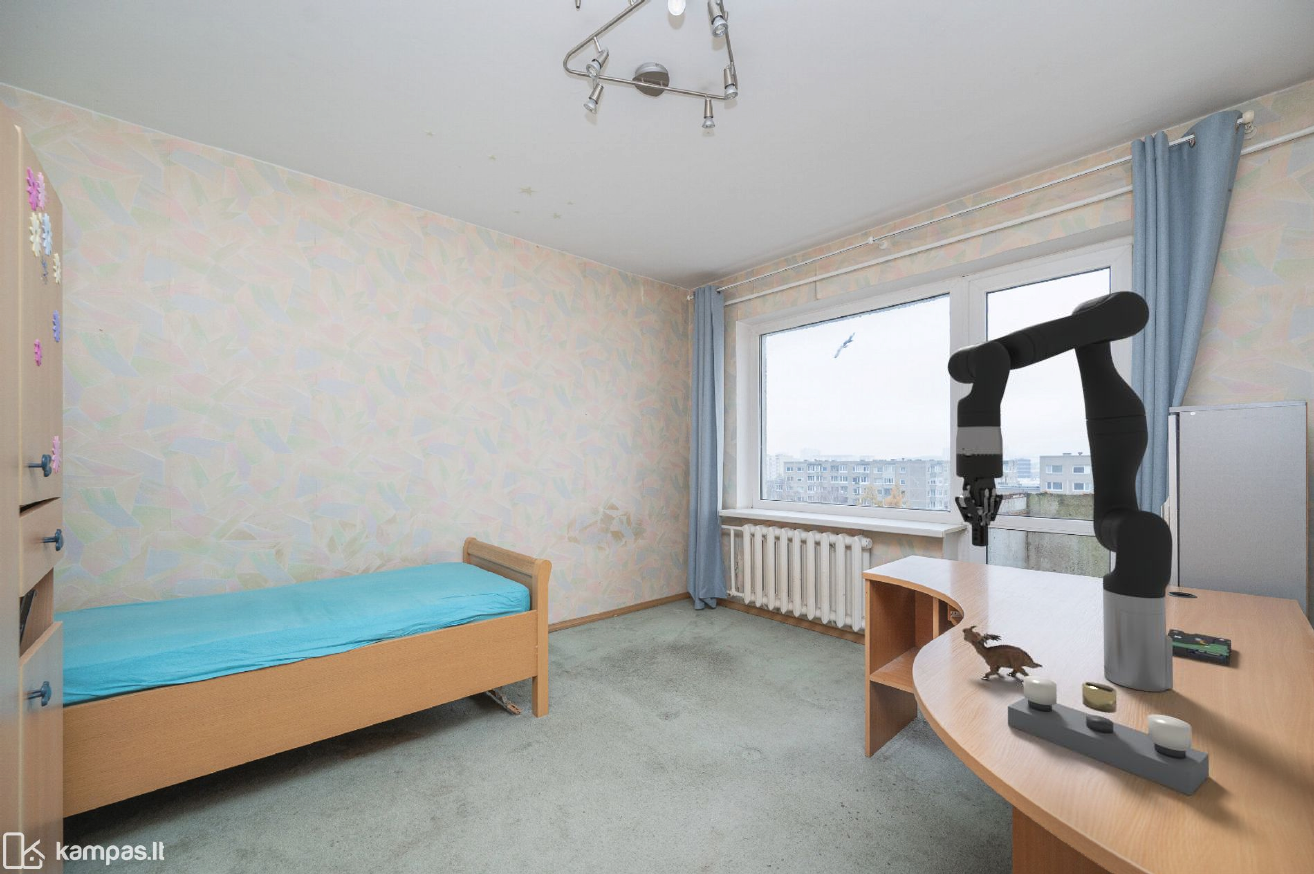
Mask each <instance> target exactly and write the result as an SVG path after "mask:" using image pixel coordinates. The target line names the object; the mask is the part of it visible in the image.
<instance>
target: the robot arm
mask: <svg viewBox="0 0 1314 874" xmlns="http://www.w3.org/2000/svg"><path fill="white" fill-rule="evenodd" d="M1149 320H1150V308H1149V305H1148V303H1147V301H1146V300H1145V299H1144V297H1143V296H1142V295H1140V294H1138V293H1137V292H1134V291H1129V290H1122V291H1121V290H1120V291H1116V292H1115V291H1114V292H1111V293H1108V294H1105V295H1101V296H1098V297H1095V298H1092V299H1089V300H1085V301H1083V302H1080V303H1078V304H1077V305H1075V307H1074V308H1073V309H1072V311H1071V314H1070V315H1068V316H1067V315H1066V316H1063V317H1059V318H1055V319H1052V320H1048V321H1045V322H1044V321H1043V322H1040V323H1036V324H1034V325H1030V326H1026V327H1023V328H1021V329H1018V330H1013V331H1012V332H1009V333H1007V334H1004V335H1002V336H999V337H997V338H994V339H989V340H987V341H982V342H980V343H979V342H978V343H974V344H972V345H968V346H964V347H961V348H959V349H957V350H956V351H954V352H953V353H952V354H951V356H950V358H949V359H948V363H947V372H948V374H949V376H950V377H951V378H952V379H953V380H954V381H956V382H958V383H960V384H965V385H967V384H969V385H970V384H972V386H971V390H970V392H968V394H966V395H965V396H963V397H961V398H960V399H959V400H958V401H957V408H956V409H957V411H956V418H957V419H956V422H957V423H956V427H957V428H956V429H957V430H956V436H955V468H956V470H955V475H956V476H957V477H958V478H963V483H962V494H961V495H956V496H954V502H955V503H956V507H957V508H958V511H959V512H960V515H961V518H962V519H963V522H964V523H968V524H969V526H971V544H972V546H974V547H980V548H981V547H982V548H984V547H987V546H989V526H990V525H991V522H995V521H996V518H997V516H998V513H999V510H1000V507H1001V506H1002V503H1003V499H1004V495H1003V494H1002V493H997V491H996V489H997V485H996V481H995V479H1001V478H1003V476H1004V447H1003V446H1004V445H1003V444H1004V443H1003V442H1004V441H1003V440H1004V439H1003V434H1002V421H1001V420H1002V413H1001V412H1002V411H1001V410H1002V408H1001V406H1002V401H1003V398H1004V395H1005V391H1006V387H1007V385H1008V381H1009V376H1010V373H1011V371H1014V370H1015V371H1016V370H1018V369H1019V370H1020V369H1022V368H1023V369H1024V368H1026V367H1029V366H1031V365H1034V364H1037V363H1040V362H1043V361H1045V360H1048V359H1051V358H1053V357H1056V356H1058V355H1061V354H1063V353H1067V352H1069V351H1071V350H1074V352H1075V356H1076V361H1077V365H1078V369H1079V375H1080V380H1081V381H1080V382H1081V388H1082V393H1083V394H1082V395H1083V402H1084V411H1085V412H1084V413H1085V426H1086V432H1087V440H1088V446H1089V453H1090V464H1091V465H1090V466H1091V474H1092V482H1093V484H1092V485H1093V499H1092V500H1093V509H1092V510H1093V512H1092V513H1093V515H1092V518H1093V519H1092V520H1093V521H1092V524H1093V525H1092V526H1093V532H1094V536H1095V538H1096V540H1097V542H1098V543H1099V544H1100V545H1101V547H1103V548H1104V549H1106V550H1108V551H1109V552H1113V553H1115V563H1114V568H1113V570H1112V571H1110V572H1106V573H1105V574H1104V575H1103V576H1102V604H1103V605H1102V606H1103V607H1102V608H1103V609H1102V610H1103V613H1102V614H1103V616H1102V619H1103V622H1102V623H1103V673H1104V677H1105V679H1106V680H1108V681H1110V682H1112V683H1114V684H1117V685H1119V686H1122V687H1125V688H1130V689H1133V690H1138V691H1145V692H1156V693H1157V692H1165V691H1166V690H1174V673H1173V672H1174V669H1173V667H1174V663H1173V662H1174V661H1173V656H1174V655H1173V654H1172V638H1171V637H1169V636H1167V635H1168V634H1167V617H1166V616H1167V607H1166V606H1167V605H1166V591H1167V587H1168V585H1169V584H1170V582H1171V579H1172V567H1173V566H1172V565H1173V564H1172V563H1173V537H1172V536H1173V535H1172V531H1171V528H1170V525H1169V524H1168V522H1167V521H1166V520H1165V519H1164V518H1163V517H1162V516H1161V515H1159V514H1157V513H1154V512H1151V511H1148V510H1142V509H1140V507H1139V503H1138V497H1137V490H1136V482H1137V481H1136V480H1137V474H1138V472H1139V469H1140V466H1141V464H1142V462H1143V458H1144V457H1145V453H1146V450H1147V448H1148V447H1147V446H1148V443H1149V442H1148V441H1149V431H1148V423H1147V420H1148V419H1147V413H1146V408H1145V405H1144V403H1143V401H1142V399H1141V398H1140V397H1139V395H1138V394H1137V393H1136V392H1135V390H1134V389H1133V388H1132V387H1131V386H1130V385H1129V384H1128V383H1127V381H1125V379H1124V378H1123V377H1122V376H1121V374H1119V372H1118V370H1117V368H1116V367H1115V363H1114V361H1113V360H1114V359H1113V355H1112V350H1111V342H1116V341H1121V340H1124V339H1125V340H1126V339H1128V338H1131V337H1134V336H1136V335H1137V334H1139V333H1140V332H1142V330H1144V329H1145V327H1146V326H1147V324H1148V322H1149Z"/></svg>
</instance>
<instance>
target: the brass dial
mask: <svg viewBox="0 0 1314 874" xmlns="http://www.w3.org/2000/svg"><path fill="white" fill-rule="evenodd" d="M1081 687H1082V688H1081V689H1082V695H1081V696H1082V706H1084V707H1086V708H1088V709H1090V710H1093V711H1097V712H1099V713H1100V712H1101V713H1105V714H1112V713H1113V714H1114V713H1116V712H1117V705H1118V704H1117V690H1116V688H1114V687H1112V686H1109V685H1107V684H1103V683H1099V682H1093V681H1086V682H1083V683H1082V686H1081Z"/></svg>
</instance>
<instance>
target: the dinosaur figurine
mask: <svg viewBox="0 0 1314 874" xmlns="http://www.w3.org/2000/svg"><path fill="white" fill-rule="evenodd" d="M975 628H977V625H972V626H970V627H965V628H962V633H963V640H964V641H965V642H966V643H969V644H971V646H973V648H974V649H975V650H976V652H975V653H977V654H978V655H979V656H981V658H983V660H984V661H985V664H986V665H987V666H989V671H988V672H985V674H984V676H982V677H983V678H987V679H988V678H989V679H990V676H991V677H992V676H997V675H998V673H999V672H1000V670H1001V668H1003V669H1009V670H1010V669H1011V670H1012V671H1010V672H1008V673H1009V674H1011V675H1013V676H1017V674H1020V675H1022V676H1023V679H1021V680H1020V683H1021V682H1023V683H1024V677H1026V676H1030V674H1029V673H1028V672H1027V671H1026V670H1025V668H1024V667H1027V668H1030V669H1033V670H1034V669H1038V668H1043V664H1039V662H1038V663H1037V662H1036V661H1034V660H1033V657H1031V655H1030V654H1028V653H1029V652H1027V651H1026V650H1024V649H1022V648H1021V647H1019V646H1015V645H1011V644H998V645H991V646H988V647H987V646H985V644H986V645H988V641H989V640H991V641H993V642H994V641H997V642H999V641H1002V639H1001V638H1002V636H1001V635H997V634H992V633H990V634H989V633H987V632H986V633H983V635H982V634H981V633H980V632H978V631H974V630H973V629H975ZM989 679H988V680H989Z"/></svg>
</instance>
